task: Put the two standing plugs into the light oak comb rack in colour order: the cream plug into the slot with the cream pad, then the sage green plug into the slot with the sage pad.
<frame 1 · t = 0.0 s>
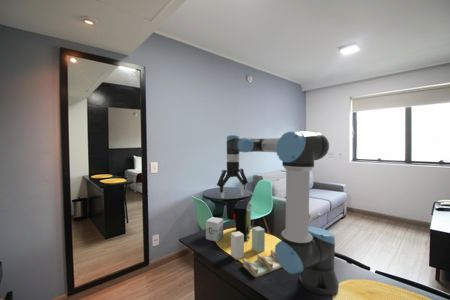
hand: (232, 196, 124), 28 cm above the table, fingers open, 13 cm apart
sage plug: (258, 249, 117), on the table
electrical component: (242, 235, 136), on the table
cream plug: (237, 256, 110), on the table
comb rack: (264, 265, 101), on the table
ink box: (214, 238, 132), on the table
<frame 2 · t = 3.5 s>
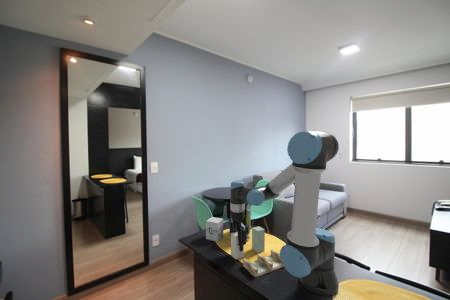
hand: (237, 253, 110), 1 cm above the table, fingers closed on cream plug, 5 cm apart
cream plug: (237, 256, 110), on the table, touching gripper
everything else where it was.
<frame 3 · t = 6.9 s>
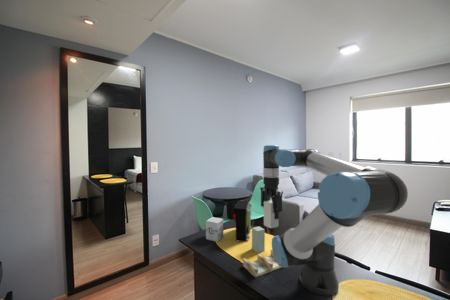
hand: (271, 223, 103), 20 cm above the table, fingers closed on cream plug, 5 cm apart
cream plug: (271, 225, 103), point 19 cm above the table, touching gripper
everything else where it was.
when the fingers open (3 cm above the table, at t = 10.6 s): cream plug drops 1 cm, resting on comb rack.
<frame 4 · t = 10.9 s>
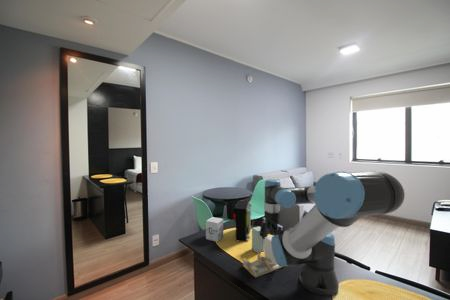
hand: (271, 255, 103), 4 cm above the table, fingers open, 9 cm apart
cream plug: (271, 261, 104), point 1 cm above the table, touching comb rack
everything else where it was.
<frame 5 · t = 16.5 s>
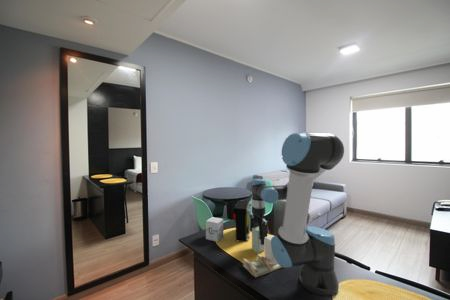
hand: (258, 247, 117), 1 cm above the table, fingers closed on sage plug, 5 cm apart
sage plug: (258, 249, 117), on the table, touching gripper
everything else where it was.
when the fingers open (3 cm above the table, at t = 23.5 s): sage plug drops 1 cm, resting on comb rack.
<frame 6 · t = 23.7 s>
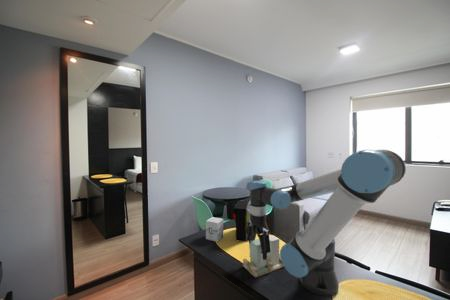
hand: (257, 260, 99), 4 cm above the table, fingers open, 8 cm apart
sage plug: (257, 266, 99), point 1 cm above the table, touching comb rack
everything else where it was.
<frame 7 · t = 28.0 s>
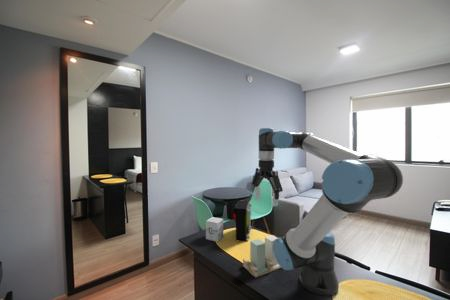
hand: (265, 202, 103), 31 cm above the table, fingers open, 13 cm apart
nothing on the table moved.
at the end: cream plug 0.2 cm from the target spot on the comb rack, point 0.9 cm above the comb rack's base; sage plug 0.2 cm from the target spot on the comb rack, point 0.9 cm above the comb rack's base; sage plug tilted 0° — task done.
